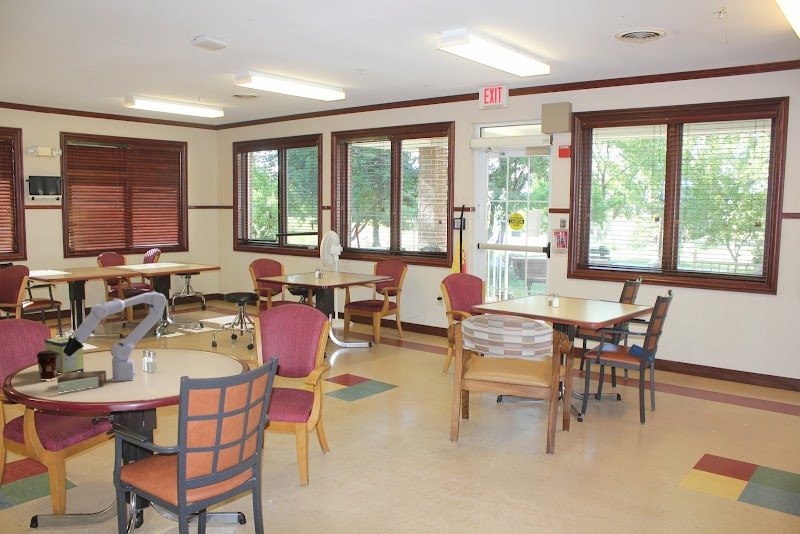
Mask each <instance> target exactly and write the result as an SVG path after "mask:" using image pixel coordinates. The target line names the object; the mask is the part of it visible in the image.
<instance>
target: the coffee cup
mask: <svg viewBox="0 0 800 534" xmlns="http://www.w3.org/2000/svg"><path fill="white" fill-rule="evenodd" d="M57 356H58V355H57V354H56V352H55V351H50V350H48V351H45V350H41V351H39V352H37V354H36V358H37V365H38V372H39V376H40V380H41V379H52V378H55V377H56V378H57V374H56V366H57Z"/></svg>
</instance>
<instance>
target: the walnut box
mask: <svg viewBox="0 0 800 534" xmlns="http://www.w3.org/2000/svg"><path fill="white" fill-rule="evenodd" d="M97 376H98V378H99V386H103V385H104V386H105V384H106V383H105V382H107V371H106V370H93V371H92V370H91V371H83V372H72V373H62V374H61V375H59V376H57V377H56V380H57V384H58V383H62V382H68V381H74V380H79V379H85V378H91V377H97ZM104 383H105V384H104ZM104 386H103V387H104Z"/></svg>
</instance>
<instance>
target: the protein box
mask: <svg viewBox="0 0 800 534" xmlns="http://www.w3.org/2000/svg"><path fill="white" fill-rule="evenodd" d="M69 337H70V336H67V335H65V336H59V337H53V338H48V339H46V338H45V339H44V351H48V350H50V351H55V352H56V354H57V355H58V356H57V366H56V372H57V373H61V374H62V373H72V372H77V371H83V370H84V371H85V367H84V347H82V348H80V349H79V350H77V351H76V352H75V353H74V354H73V355H72V356H70V357H69V356H67V355H66V354H65V353H64V352H63V351H64V349H65V347H66V345H67V343H68V339H69ZM81 344H82V345H84V343H81ZM84 371H83V372H84Z"/></svg>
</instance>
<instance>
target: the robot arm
mask: <svg viewBox="0 0 800 534" xmlns="http://www.w3.org/2000/svg"><path fill="white" fill-rule="evenodd" d="M139 304H148V307H149V314H147V315H146V317H144V319H143V320H141V322H140V323H139V324H138V325H137V326H136V327H135V328H134V329H133V330H132V331H131V332H130V333H129V334H128V335H127V336H126V337H125V338H123V339H121V340H120V341H118V343H115V344H112V346H111V348H110V350H109V351H110V355H111V356H112V358H111V369H112V371H111V373H112V378H111V379H110V382H122V381H134V379H135V377H136V369H135V366H136V365H135V359H132V358H131V359H130V355H131V353H132V352H133V351H134V349H135V346H136V345H137V344H138V342H140V341H141V340H142V338H143V337H144V336H145V335H147V333H148V332H149V331H151V329H152V328H153V327H154V326H155V325H156V324H157V322H159V320H161V318H162V317H163V314H164V312H165V308H166V306H167V298H166V296H165V295H164V294H163V293H160V292H157V291H154V290H153V291H150V292H144V293H141V294H139V295H136V296H133V297H132V296H131V297H129V298H127V299H124V300H123V299H120V298H116V297H115V298H113V300H110V301H107V302H105V301H104V302H102V304H99V303H96V304H95V305H94V306H92V307H91V308H90V312H89V313H88V315H87V316H86V318H84V320H83V321H82V323H81V324H80V325H79V326H78V327H77V328H76V330H75V332H73V331H71V332H70V334H72V335H73V336H72V337H71V336H68V337H69V339H68V343H67V345H66V347H65V349H64V351H63V352H64V353H65V354H66V355H67V356H69V357H70V356H72V355H73V354H74V353H75V352H76V351H77V350H79V349H80V348H82V347H83V348H85V346H84V343H83V342H85V343H86V342H87V340H88V338H89V337H90V336H91V334H92V333H93V332H94V330H96V328H97V326H98V325H99V324H100V323H101V321H102V320H103V319H105V318H107V316H111V315H114V314H117V313H121V312H124V310H125V308H127V307H131V306H136V305H139ZM81 343H83V345H82V344H81Z"/></svg>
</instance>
